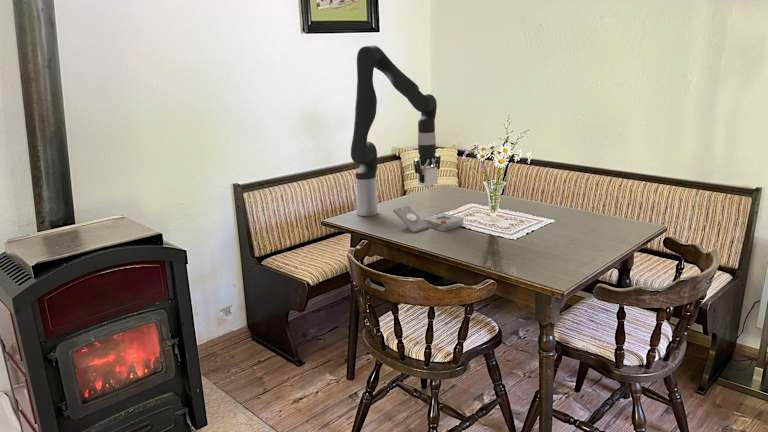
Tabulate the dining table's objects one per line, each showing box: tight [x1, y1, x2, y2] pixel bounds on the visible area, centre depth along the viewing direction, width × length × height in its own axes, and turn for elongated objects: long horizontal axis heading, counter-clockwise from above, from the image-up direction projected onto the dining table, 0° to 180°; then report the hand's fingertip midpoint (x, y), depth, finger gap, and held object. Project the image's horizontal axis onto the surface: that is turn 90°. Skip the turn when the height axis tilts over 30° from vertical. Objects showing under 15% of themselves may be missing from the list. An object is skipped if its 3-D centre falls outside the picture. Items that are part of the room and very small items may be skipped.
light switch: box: [392, 205, 430, 234], centre depth 248 cm, size 8×6×14 cm
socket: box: [422, 212, 464, 232], centre depth 249 cm, size 12×12×4 cm
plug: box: [417, 166, 439, 189], centre depth 252 cm, size 6×6×8 cm
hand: (427, 181), depth 252 cm, fingers closed on plug, 6 cm apart
